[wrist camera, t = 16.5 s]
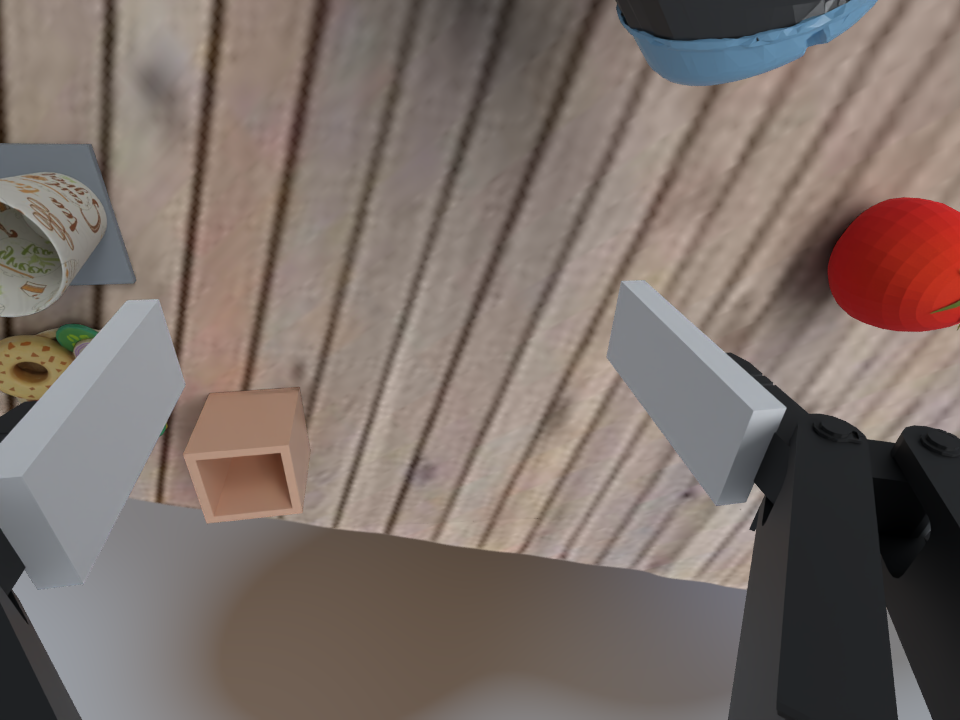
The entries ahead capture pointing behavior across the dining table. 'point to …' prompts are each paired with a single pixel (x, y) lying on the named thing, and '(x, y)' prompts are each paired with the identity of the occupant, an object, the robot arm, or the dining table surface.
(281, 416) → the planter
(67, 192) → the mug
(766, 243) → the dining table surface
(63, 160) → the coaster
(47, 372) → the toy food set
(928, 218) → the tomato
